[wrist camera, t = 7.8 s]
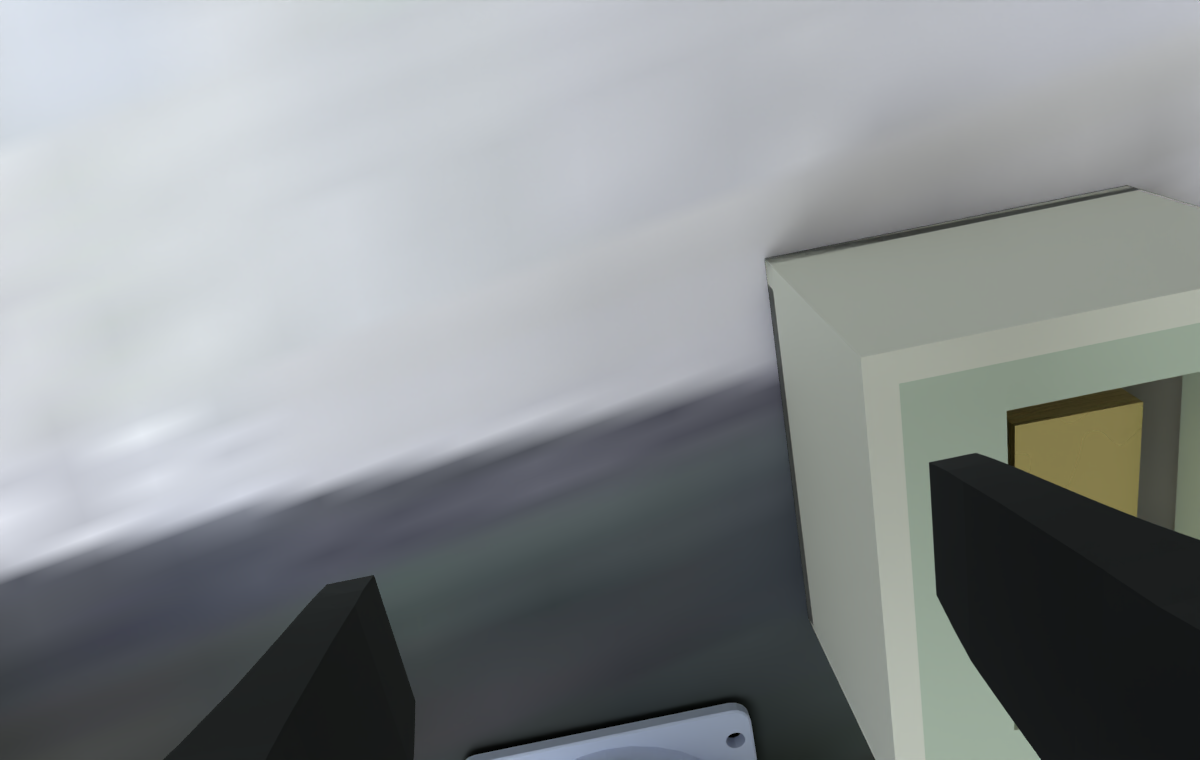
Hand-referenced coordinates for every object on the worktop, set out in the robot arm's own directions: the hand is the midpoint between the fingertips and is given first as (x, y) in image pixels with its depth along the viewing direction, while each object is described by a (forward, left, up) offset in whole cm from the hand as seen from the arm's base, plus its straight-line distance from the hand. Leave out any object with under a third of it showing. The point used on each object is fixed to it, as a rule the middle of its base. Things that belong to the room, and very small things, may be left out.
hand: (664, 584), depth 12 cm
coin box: (-4, -8, -10) cm, 14 cm away
